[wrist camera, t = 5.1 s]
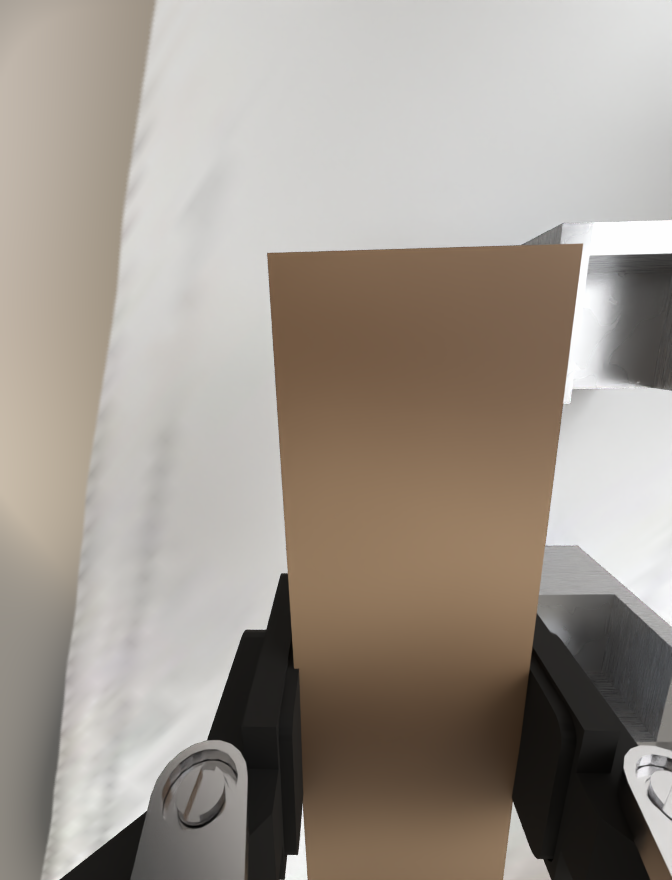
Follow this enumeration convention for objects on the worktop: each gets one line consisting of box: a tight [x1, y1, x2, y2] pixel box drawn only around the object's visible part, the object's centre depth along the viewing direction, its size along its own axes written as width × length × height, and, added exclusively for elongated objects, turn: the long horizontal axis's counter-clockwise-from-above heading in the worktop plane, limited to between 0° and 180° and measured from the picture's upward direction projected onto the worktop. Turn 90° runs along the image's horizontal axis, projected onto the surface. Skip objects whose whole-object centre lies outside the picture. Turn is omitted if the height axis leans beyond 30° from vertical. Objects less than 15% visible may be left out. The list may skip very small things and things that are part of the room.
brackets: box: [523, 220, 672, 751], centre depth 20 cm, size 23×8×9 cm, turn 1°
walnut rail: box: [267, 243, 583, 880], centre depth 9 cm, size 16×4×4 cm, turn 1°
